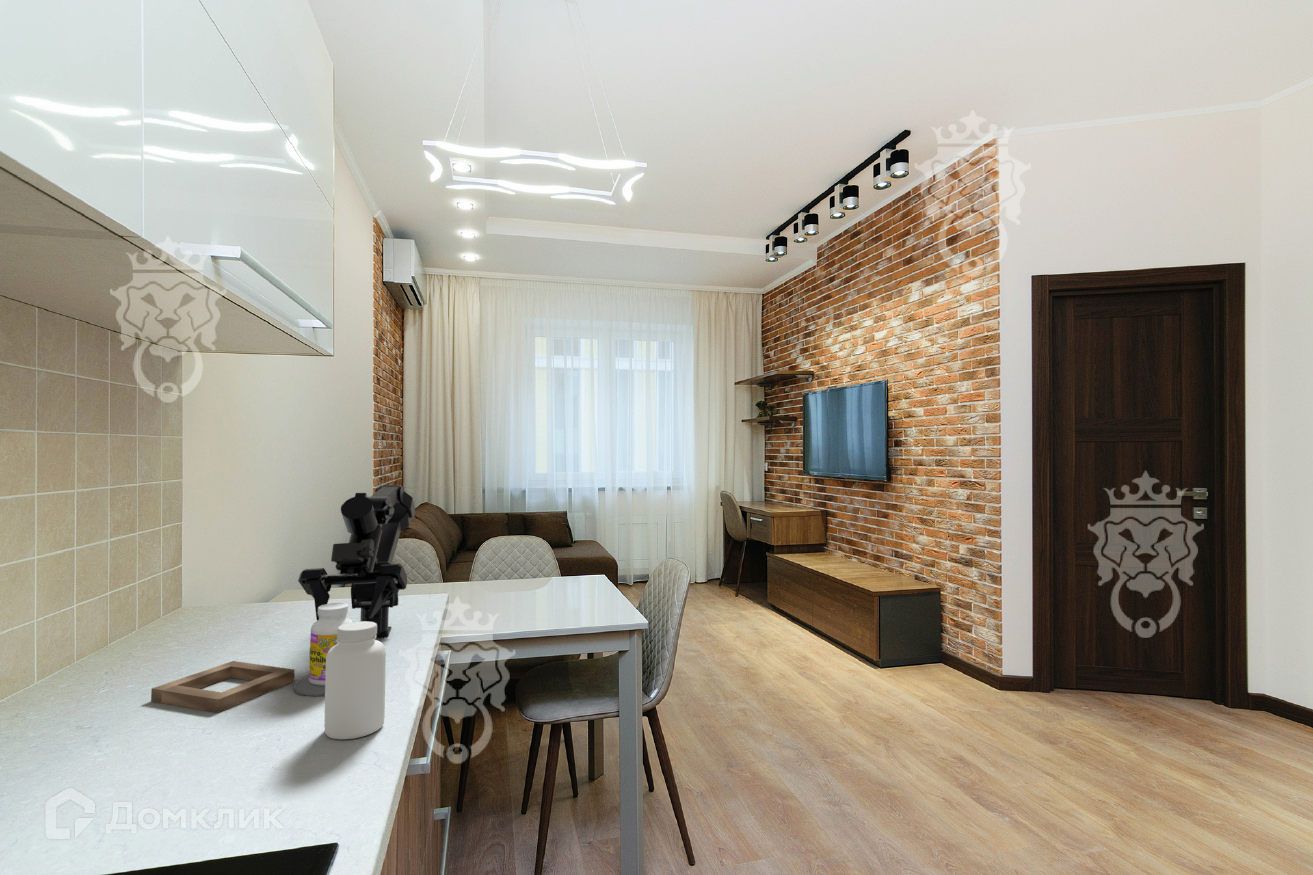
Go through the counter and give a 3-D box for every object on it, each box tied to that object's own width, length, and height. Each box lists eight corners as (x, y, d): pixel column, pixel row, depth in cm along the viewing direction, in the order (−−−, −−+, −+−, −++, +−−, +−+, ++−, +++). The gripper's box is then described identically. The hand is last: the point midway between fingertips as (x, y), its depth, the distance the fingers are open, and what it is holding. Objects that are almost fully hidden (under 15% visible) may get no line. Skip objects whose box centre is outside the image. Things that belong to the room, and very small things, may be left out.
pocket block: (232, 671, 112) (233, 660, 112) (294, 680, 108) (294, 669, 108) (150, 701, 98) (151, 688, 99) (217, 712, 95) (218, 699, 95)
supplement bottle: (299, 683, 105) (301, 608, 105) (331, 671, 111) (333, 599, 112) (329, 689, 103) (332, 612, 103) (360, 676, 109) (362, 603, 110)
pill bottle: (354, 713, 95) (357, 616, 95) (396, 722, 92) (399, 621, 93) (310, 735, 88) (313, 629, 88) (354, 745, 85) (357, 636, 85)
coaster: (302, 675, 111) (303, 672, 111) (369, 670, 114) (369, 667, 114) (285, 699, 100) (285, 695, 100) (359, 692, 103) (359, 688, 103)
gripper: (300, 528, 119) (274, 600, 108) (400, 522, 121) (385, 593, 110) (319, 559, 127) (297, 630, 116) (413, 554, 129) (400, 623, 118)
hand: (344, 619), depth 115 cm, fingers open, 9 cm apart
